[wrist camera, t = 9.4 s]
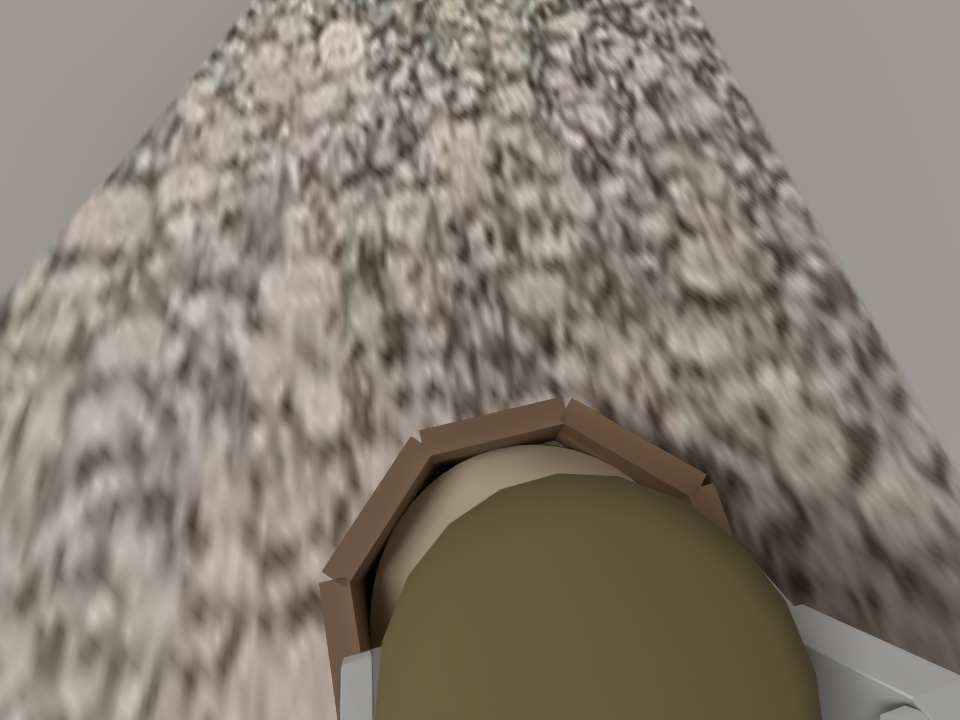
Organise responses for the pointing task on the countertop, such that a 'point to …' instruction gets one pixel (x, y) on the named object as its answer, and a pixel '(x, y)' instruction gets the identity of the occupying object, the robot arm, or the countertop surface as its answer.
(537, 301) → the countertop surface
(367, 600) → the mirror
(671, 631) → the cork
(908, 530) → the countertop surface
